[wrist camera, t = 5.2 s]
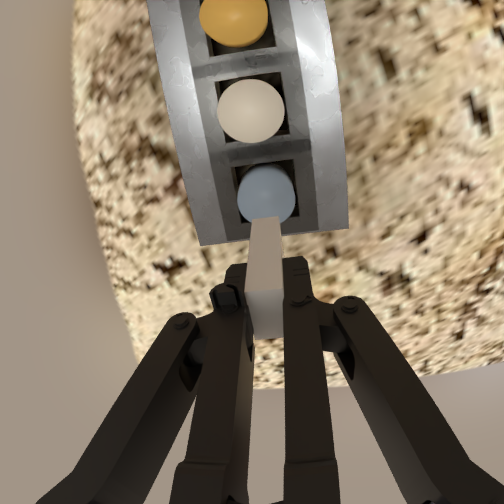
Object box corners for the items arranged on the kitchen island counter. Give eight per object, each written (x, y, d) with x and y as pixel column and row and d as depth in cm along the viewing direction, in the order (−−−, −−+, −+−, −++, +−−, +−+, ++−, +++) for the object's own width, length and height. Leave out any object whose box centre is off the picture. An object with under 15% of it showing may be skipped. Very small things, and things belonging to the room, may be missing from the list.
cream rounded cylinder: (224, 83, 25) (211, 85, 19) (276, 76, 24) (279, 75, 18) (233, 132, 27) (223, 147, 21) (283, 124, 26) (288, 138, 21)
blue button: (239, 156, 29) (232, 177, 24) (286, 149, 29) (291, 169, 23) (247, 199, 31) (242, 229, 26) (292, 193, 31) (298, 222, 25)
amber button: (210, 10, 21) (194, -8, 15) (262, 2, 21) (261, -20, 15) (219, 56, 23) (204, 49, 18) (271, 47, 23) (273, 38, 17)
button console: (159, 3, 22) (138, -10, 17) (310, -22, 20) (319, -42, 16) (207, 227, 34) (197, 254, 29) (340, 211, 32) (352, 236, 28)
